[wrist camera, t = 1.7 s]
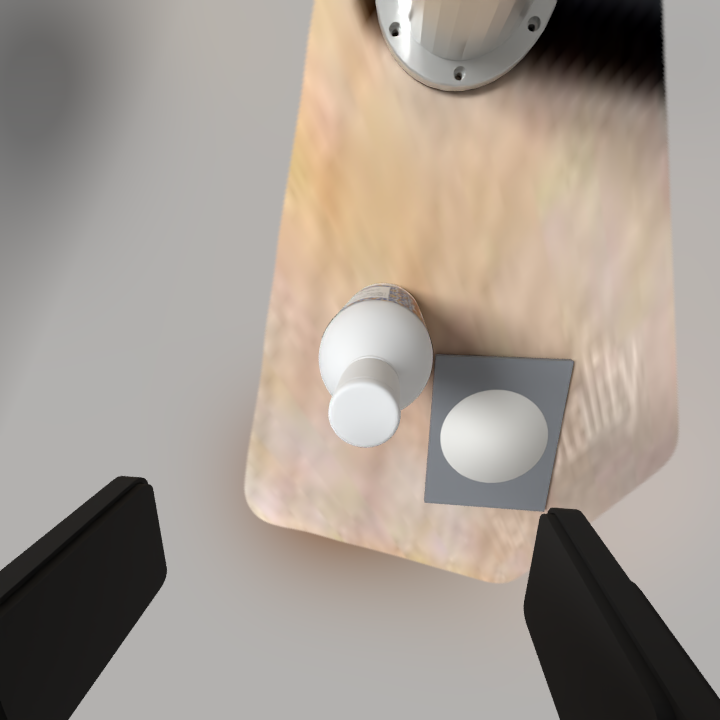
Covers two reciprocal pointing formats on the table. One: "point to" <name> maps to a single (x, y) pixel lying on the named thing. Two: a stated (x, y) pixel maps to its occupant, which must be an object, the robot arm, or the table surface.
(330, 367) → the bath foam
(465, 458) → the rubber mat
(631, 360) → the table surface
